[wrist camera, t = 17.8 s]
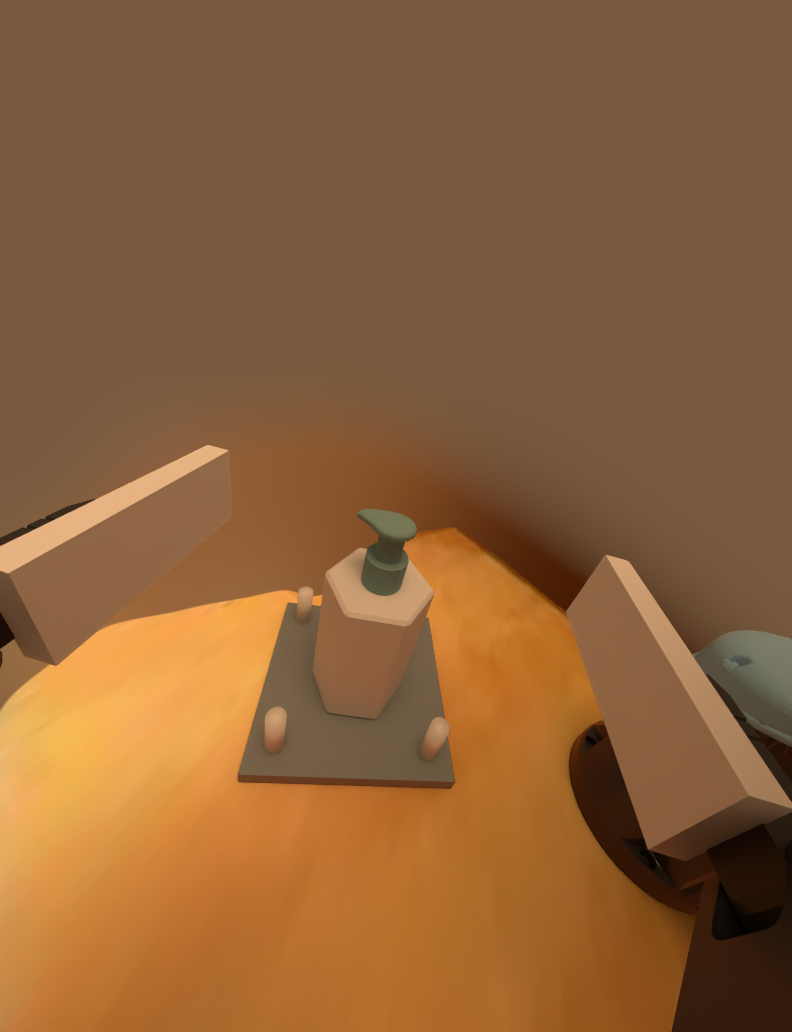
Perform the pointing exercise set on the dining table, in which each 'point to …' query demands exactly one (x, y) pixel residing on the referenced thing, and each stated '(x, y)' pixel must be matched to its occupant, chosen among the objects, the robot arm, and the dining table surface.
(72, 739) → the dining table surface
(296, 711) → the plate
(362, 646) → the soap bottle
